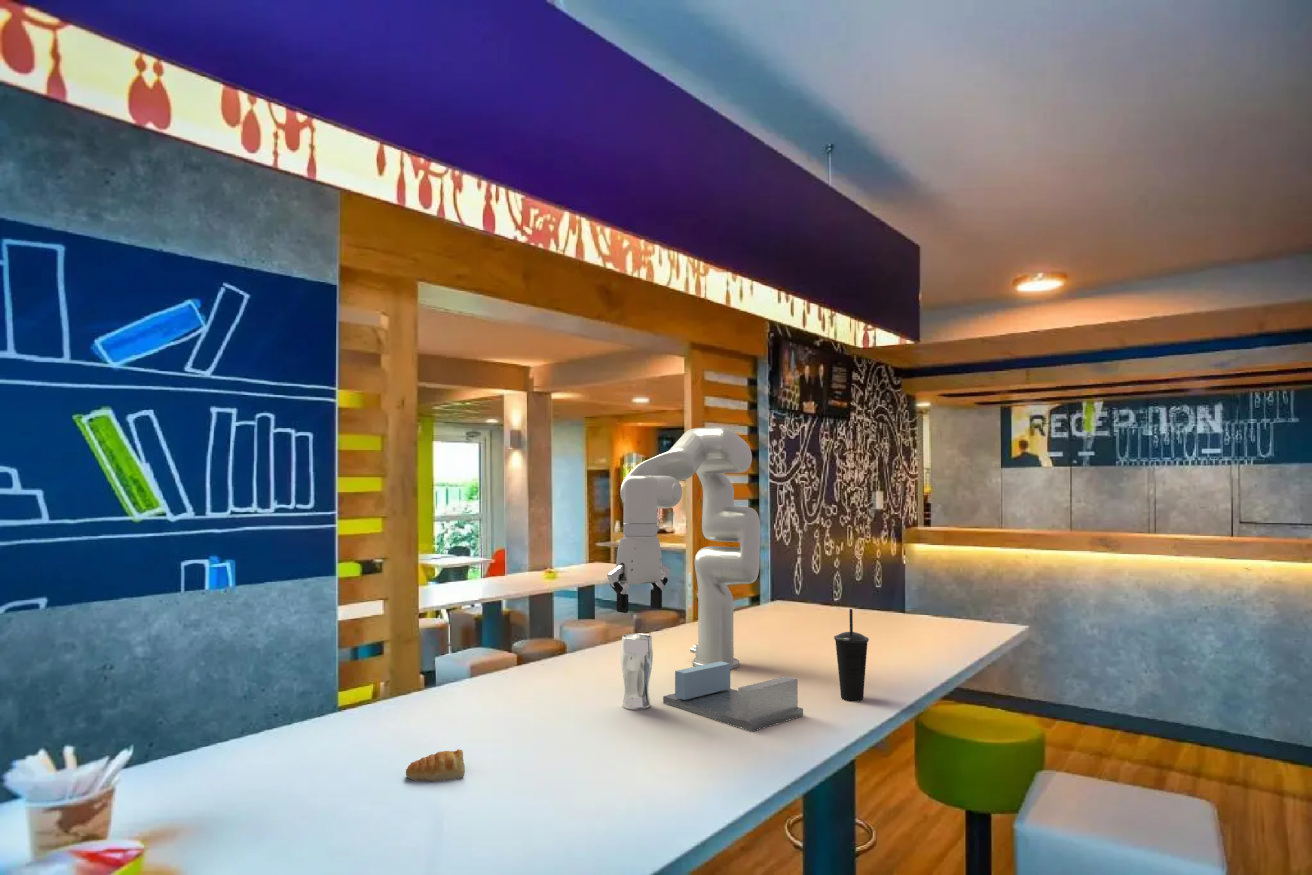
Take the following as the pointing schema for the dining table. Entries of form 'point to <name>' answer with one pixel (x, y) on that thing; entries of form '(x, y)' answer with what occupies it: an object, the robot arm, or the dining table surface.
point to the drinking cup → (851, 662)
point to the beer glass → (636, 670)
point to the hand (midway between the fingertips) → (639, 610)
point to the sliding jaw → (702, 680)
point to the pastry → (438, 767)
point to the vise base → (726, 709)
